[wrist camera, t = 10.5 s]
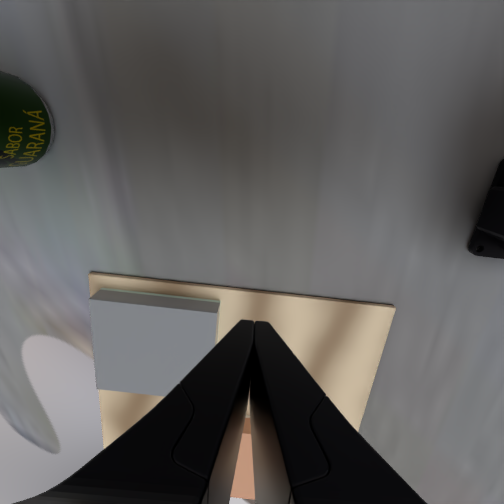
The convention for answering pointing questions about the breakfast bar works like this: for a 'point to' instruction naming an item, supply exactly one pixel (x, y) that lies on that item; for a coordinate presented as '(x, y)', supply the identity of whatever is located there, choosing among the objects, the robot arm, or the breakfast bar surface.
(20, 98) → the guarana soda can
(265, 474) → the robot arm
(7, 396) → the breakfast bar surface
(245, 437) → the terracotta tile
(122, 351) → the slate tile
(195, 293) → the oak board
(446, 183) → the breakfast bar surface
